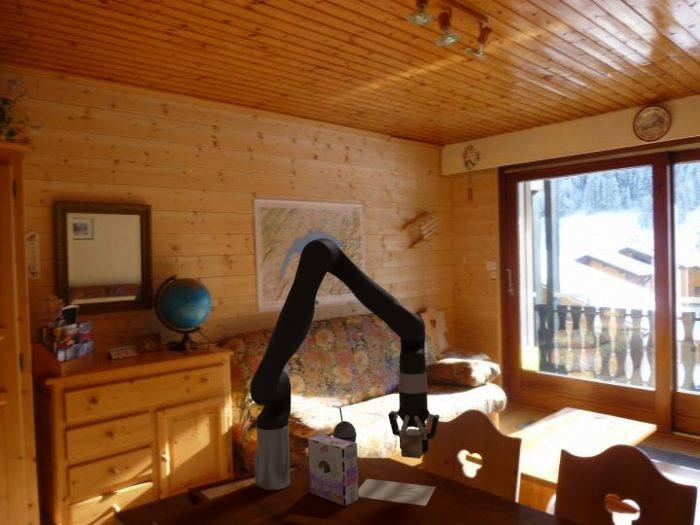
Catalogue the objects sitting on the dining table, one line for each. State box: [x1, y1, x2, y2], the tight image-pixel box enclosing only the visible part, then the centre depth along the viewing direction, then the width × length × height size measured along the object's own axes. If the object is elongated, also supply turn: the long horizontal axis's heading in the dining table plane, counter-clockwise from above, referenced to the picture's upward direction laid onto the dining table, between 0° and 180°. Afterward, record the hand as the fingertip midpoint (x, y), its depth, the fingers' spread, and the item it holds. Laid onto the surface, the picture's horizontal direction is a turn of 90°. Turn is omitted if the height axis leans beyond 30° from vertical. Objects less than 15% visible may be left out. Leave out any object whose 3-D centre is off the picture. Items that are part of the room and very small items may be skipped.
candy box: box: [306, 433, 360, 507], centre depth 148 cm, size 14×6×16 cm, turn 47°
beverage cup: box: [332, 407, 358, 443], centre depth 167 cm, size 7×7×20 cm
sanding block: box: [400, 428, 424, 460], centre depth 147 cm, size 5×8×5 cm, turn 159°
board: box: [358, 478, 436, 507], centre depth 149 cm, size 20×12×2 cm, turn 69°
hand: (414, 451), depth 147 cm, fingers closed on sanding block, 5 cm apart
